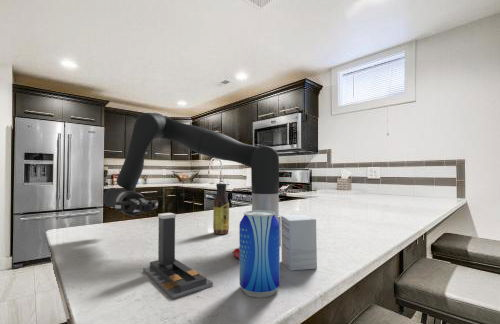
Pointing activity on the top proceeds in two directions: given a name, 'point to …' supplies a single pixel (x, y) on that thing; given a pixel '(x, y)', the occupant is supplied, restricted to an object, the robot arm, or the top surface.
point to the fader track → (176, 278)
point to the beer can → (259, 253)
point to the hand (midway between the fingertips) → (146, 208)
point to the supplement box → (299, 242)
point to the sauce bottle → (221, 211)
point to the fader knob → (166, 239)
